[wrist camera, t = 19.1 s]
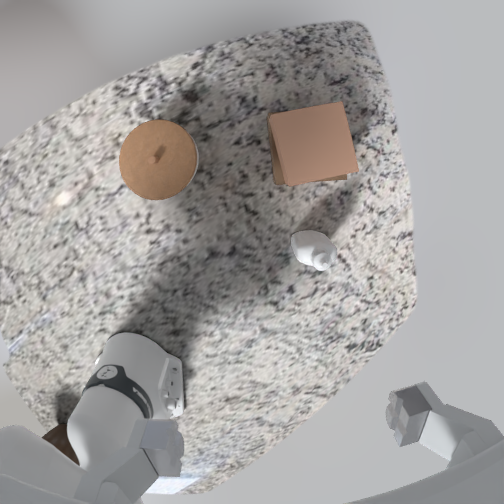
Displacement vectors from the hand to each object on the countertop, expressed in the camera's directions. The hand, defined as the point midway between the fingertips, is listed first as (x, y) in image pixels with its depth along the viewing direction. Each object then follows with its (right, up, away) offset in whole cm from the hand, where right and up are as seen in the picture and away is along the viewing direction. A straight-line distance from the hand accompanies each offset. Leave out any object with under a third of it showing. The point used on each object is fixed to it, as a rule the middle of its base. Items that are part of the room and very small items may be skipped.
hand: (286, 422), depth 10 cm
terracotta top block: (+6, +21, +30) cm, 37 cm away
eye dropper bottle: (+8, +8, +39) cm, 40 cm away
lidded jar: (-14, +20, +35) cm, 43 cm away
